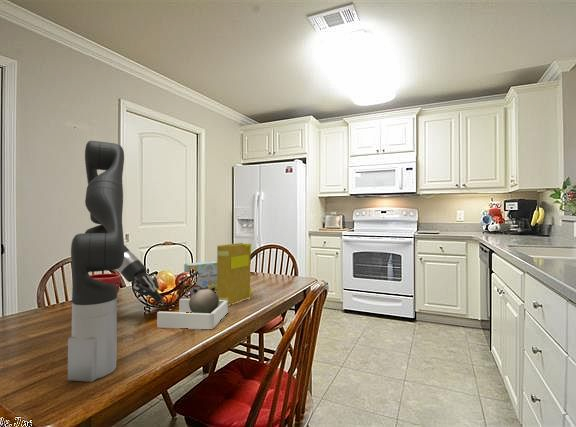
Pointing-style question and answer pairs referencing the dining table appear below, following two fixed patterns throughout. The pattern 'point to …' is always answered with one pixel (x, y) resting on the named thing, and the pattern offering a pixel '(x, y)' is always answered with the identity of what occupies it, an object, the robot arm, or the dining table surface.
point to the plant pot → (108, 279)
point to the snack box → (203, 275)
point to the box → (191, 317)
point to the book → (233, 272)
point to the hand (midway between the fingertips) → (160, 300)
